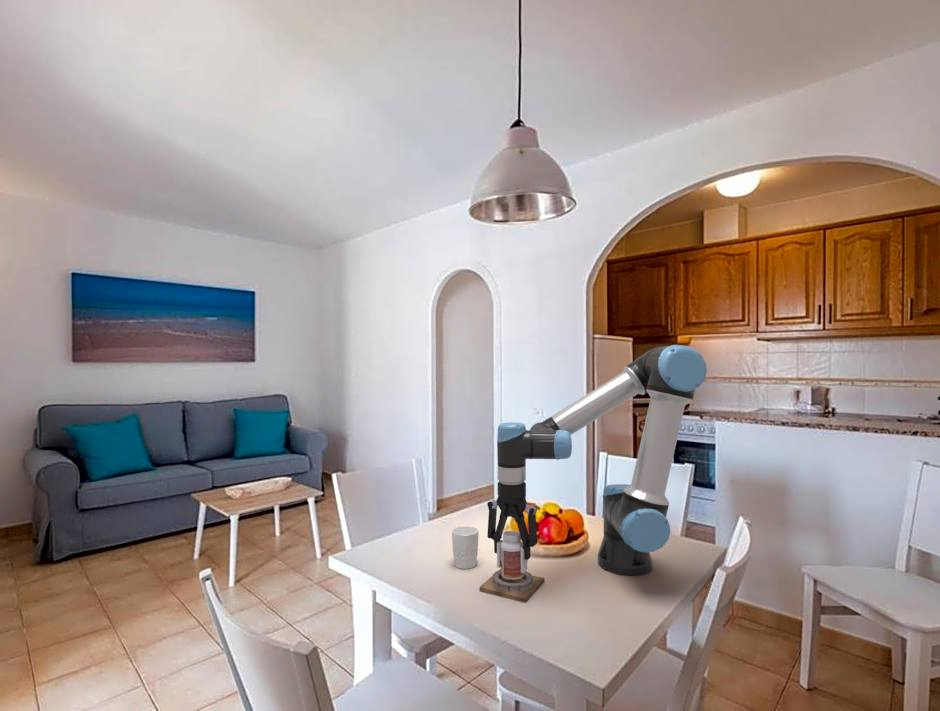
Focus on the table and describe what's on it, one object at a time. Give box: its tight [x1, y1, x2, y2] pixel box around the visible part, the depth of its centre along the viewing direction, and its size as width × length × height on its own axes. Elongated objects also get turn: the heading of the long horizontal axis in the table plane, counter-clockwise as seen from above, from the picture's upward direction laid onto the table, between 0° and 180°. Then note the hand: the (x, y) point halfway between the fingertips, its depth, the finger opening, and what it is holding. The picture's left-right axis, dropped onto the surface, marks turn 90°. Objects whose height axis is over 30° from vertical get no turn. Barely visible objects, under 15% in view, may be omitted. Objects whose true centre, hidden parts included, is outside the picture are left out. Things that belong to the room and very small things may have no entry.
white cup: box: [451, 525, 479, 570], centre depth 144 cm, size 8×8×10 cm
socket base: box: [478, 568, 546, 603], centre depth 129 cm, size 13×13×2 cm
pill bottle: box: [500, 530, 524, 580], centre depth 130 cm, size 6×6×11 cm
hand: (512, 568), depth 130 cm, fingers closed on pill bottle, 6 cm apart
